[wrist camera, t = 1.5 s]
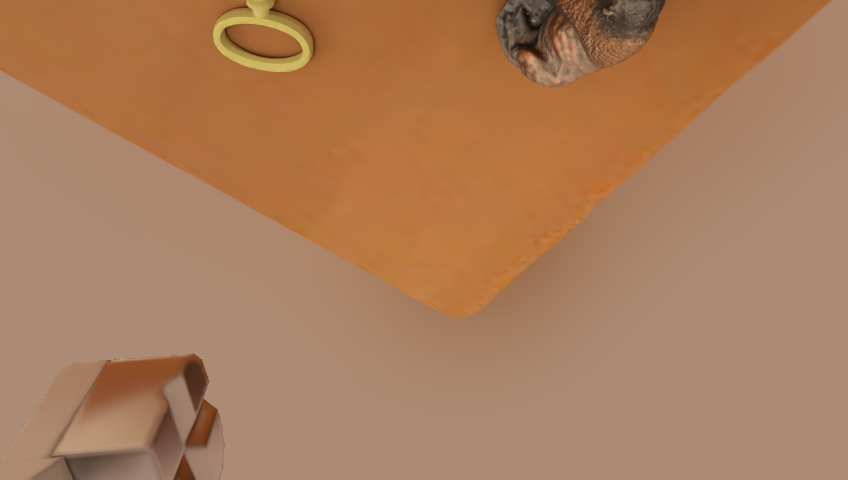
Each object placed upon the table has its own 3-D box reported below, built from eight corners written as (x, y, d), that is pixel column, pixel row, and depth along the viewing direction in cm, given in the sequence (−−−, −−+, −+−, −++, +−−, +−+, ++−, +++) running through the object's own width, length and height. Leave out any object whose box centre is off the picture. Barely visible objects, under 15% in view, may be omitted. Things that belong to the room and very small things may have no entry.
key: (264, -109, 46) (255, -98, 44) (322, 62, 54) (316, 77, 52) (164, -89, 48) (152, -77, 46) (235, 74, 56) (226, 89, 54)
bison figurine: (553, 79, 53) (556, 160, 45) (476, 25, 51) (467, 101, 43) (679, -55, 45) (707, 16, 38) (595, -125, 43) (608, -63, 36)
